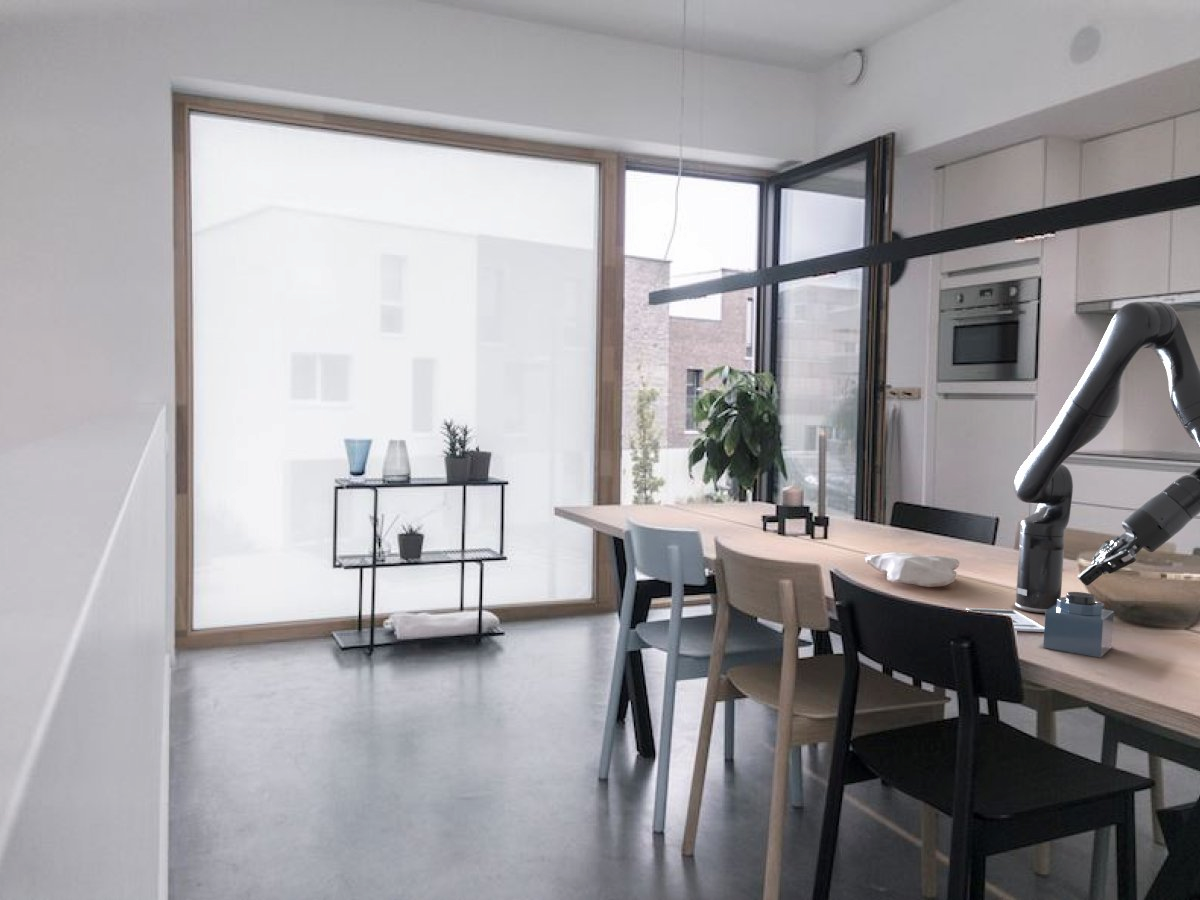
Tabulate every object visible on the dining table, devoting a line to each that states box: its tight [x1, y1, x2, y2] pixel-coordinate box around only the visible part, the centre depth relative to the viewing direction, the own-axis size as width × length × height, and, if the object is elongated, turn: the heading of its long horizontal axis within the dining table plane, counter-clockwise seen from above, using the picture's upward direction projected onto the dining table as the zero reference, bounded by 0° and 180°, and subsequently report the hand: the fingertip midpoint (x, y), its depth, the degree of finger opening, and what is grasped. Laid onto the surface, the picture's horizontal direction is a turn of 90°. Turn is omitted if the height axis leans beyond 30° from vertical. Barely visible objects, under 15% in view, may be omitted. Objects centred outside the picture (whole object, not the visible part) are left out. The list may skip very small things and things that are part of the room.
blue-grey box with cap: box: [1042, 596, 1115, 658], centre depth 191 cm, size 10×10×9 cm
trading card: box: [965, 607, 1045, 633], centre depth 211 cm, size 11×1×18 cm
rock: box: [864, 551, 960, 588], centre depth 257 cm, size 8×23×30 cm
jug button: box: [1065, 591, 1096, 605], centre depth 190 cm, size 5×5×2 cm
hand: (1081, 581), depth 190 cm, fingers closed
